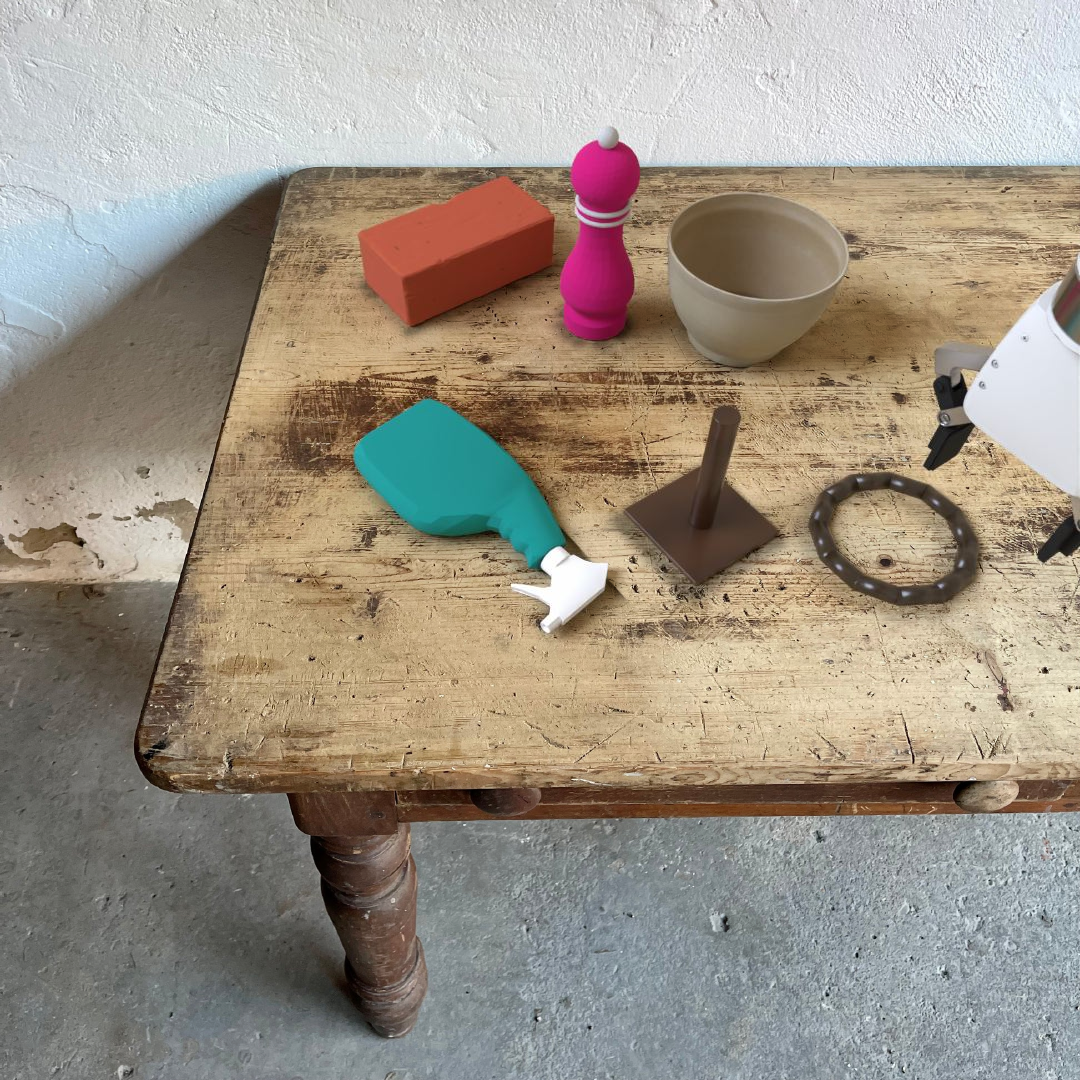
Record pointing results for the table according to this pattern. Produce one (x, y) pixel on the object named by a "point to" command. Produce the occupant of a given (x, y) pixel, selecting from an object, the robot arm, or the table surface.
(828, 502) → the ring
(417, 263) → the brick
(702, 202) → the planter bowl
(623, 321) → the pepper mill
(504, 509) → the spray bottle
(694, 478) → the stand
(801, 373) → the table surface
